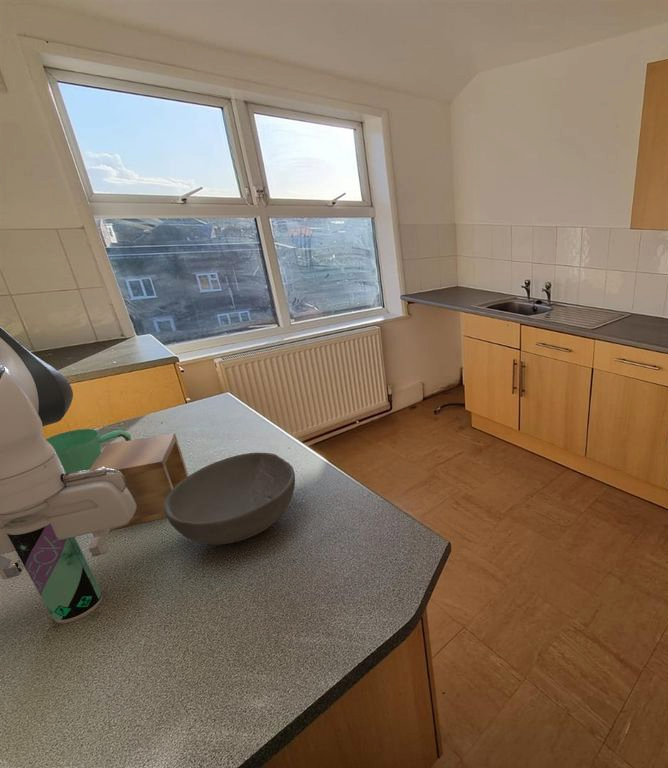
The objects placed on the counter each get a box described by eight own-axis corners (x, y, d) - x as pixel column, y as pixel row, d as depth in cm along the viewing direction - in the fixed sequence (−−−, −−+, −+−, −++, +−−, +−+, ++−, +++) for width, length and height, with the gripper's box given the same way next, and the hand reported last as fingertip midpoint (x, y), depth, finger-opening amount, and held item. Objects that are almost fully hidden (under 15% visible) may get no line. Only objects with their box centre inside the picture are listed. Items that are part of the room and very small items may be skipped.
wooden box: (108, 530, 80) (84, 475, 75) (127, 494, 90) (107, 443, 85) (180, 514, 84) (161, 461, 80) (190, 481, 94) (174, 432, 90)
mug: (50, 499, 88) (30, 457, 84) (55, 477, 95) (37, 437, 91) (142, 473, 97) (127, 434, 93) (140, 455, 104) (127, 418, 100)
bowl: (151, 548, 76) (133, 502, 72) (251, 484, 94) (241, 444, 90) (234, 581, 70) (219, 532, 66) (325, 505, 88) (317, 464, 84)
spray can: (52, 607, 65) (-7, 499, 57) (100, 586, 68) (51, 481, 61) (55, 630, 61) (-8, 518, 54) (105, 607, 65) (53, 498, 57)
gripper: (125, 453, 63) (154, 527, 69) (-79, 490, 55) (-27, 571, 60) (111, 475, 58) (143, 554, 63) (-116, 520, 50) (-56, 606, 55)
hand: (59, 563), depth 62 cm, fingers open, 8 cm apart
